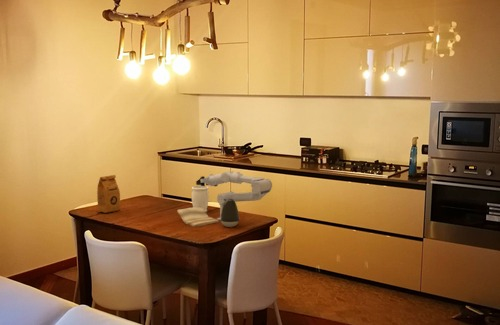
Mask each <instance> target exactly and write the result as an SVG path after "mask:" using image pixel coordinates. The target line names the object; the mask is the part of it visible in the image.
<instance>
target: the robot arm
mask: <svg viewBox="0 0 500 325" xmlns="http://www.w3.org/2000/svg"><path fill="white" fill-rule="evenodd" d="M227 183H231V184H232V183H233V184H239V185H241V184H242V183H247V184H251V185H250V186H251V191H250V192H248V191H247V192H234V191H228V192H223V193H219V194H218V195H217V197H216V201H217V202H218V205H219V214H220V215H219V217H217V218H216V219H217V220H219V221H221V211H222V208H223V205H224V203H225V201H224V199H226V200H227V199H233V200H234V201H235V203H237V202H253V201H255V202H256V201H260V200H262V198H264V197H265V196H266V195H268V194H269V193H270V192H271V190H272V189H273V183H272V180H270V179H269V178H264V177H258V176H247V175H244V174H243V173H241V171H240V172H239V171H236V172H234V171H226V172H222V173H218V174H215V175H213V173H210V174H209V176H206V177H205V175H204V176H203V175H202V176H200V178H199V179H197V180H196V181H195V184H196V185H195V186H209V187H218V186H219V185H222V184H227Z"/></svg>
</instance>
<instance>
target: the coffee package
mask: <svg viewBox="0 0 500 325" xmlns="http://www.w3.org/2000/svg"><path fill="white" fill-rule="evenodd" d="M116 178H117V177H116V174H112V175H107V176H100V177H99V180H98V183H97V191H96V192H97V193H96V194H97V196H96V198H97V199H96V200H97V212H98V213H104V214H106V213H113V212H114V213H115V212H119V211H121V207H122V206H121V192H120V187H119V185H118V184H117V180H116Z"/></svg>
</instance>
